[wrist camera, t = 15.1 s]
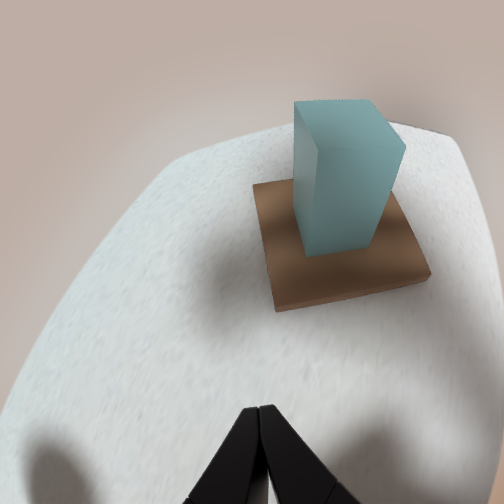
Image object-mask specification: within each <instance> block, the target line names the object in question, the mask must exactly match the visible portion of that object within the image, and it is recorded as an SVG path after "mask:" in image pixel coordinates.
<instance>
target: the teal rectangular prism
mask: <svg viewBox="0 0 504 504" xmlns="http://www.w3.org/2000/svg"><path fill="white" fill-rule="evenodd" d="M405 149H406V145H405V144H404V142H403V141H402V140H401V138H400V137H399V136H398V134H397V133H396V132H395V130H394V129H393V128H392V127H391V125H390V124H389V123H388V122H387V120H386V119H385V118H384V117H383V116H382V115H381V113H380V112H379V111H378V110H377V108H376V107H375V106H374V105H373V104H372V103H371V101H370V100H314V101H298V102H294V175H293V209H294V213H295V217H296V220H297V224H298V228H299V232H300V236H301V239H302V243H303V247H304V251H305V255H306V257H312V256H319V255H325V254H331V253H338V252H344V251H350V250H356V249H363V248H368V247H369V244H370V242H371V240H372V237H373V235H374V233H375V230H376V228H377V225H378V223H379V220H380V218H381V216H382V213H383V210H384V208H385V205H386V203H387V200H388V197H389V195H390V192H391V189H392V187H393V184H394V181H395V178H396V176H397V173H398V170H399V167H400V164H401V161H402V158H403V155H404V152H405Z"/></svg>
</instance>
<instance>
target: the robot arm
mask: <svg viewBox="0 0 504 504" xmlns="http://www.w3.org/2000/svg"><path fill="white" fill-rule="evenodd" d="M268 472H269V474H268ZM269 476H270V480H271V484H272V487H273V491H274V494H275V498H276V501H277V504H362V503H361V502H360V501H359V500H358V499H357V498H356V497H354V496H353V495H352V494H351V493H350V492H349V491H348V490H347V489H346V488H345V487H344V485H343V484H342V483H341V482H338V479H337V478H336V477H335V476H334V475H333V474H332V473H331V472H330V471H329V469H328V468H327V467H326V466H325V465H324V464H323V463H322V462H321V460H320V459H319V458H318V457H317V456H316V455H315V454H314V452H313V451H312V450H311V449H310V448H309V447H308V445H307V444H306V443H305V442H304V441H303V440H302V438H301V437H300V436H299V435H298V434H297V432H296V431H295V430H294V429H293V428H292V426H291V425H290V424H289V423H288V421H287V420H286V419H285V418H284V416H283V415H282V414H281V413H280V411H279V410H278V409H277V408H276V406H275V405H273V404H271V405H264V406H260V407H259V408H258V407H249V408H244V409H243V410H242V411H241V413H240V415H239V416H238V418H237V420H236V421H235V423H234V425H233V426H232V428H231V430H230V431H229V433H228V435H227V436H226V438H225V440H224V441H223V443H222V444H221V446H220V448H219V449H218V451H217V452H216V454H215V456H214V457H213V459H212V460H211V462H210V464H209V465H208V467H207V468H206V470H205V471H204V473H203V474H202V476H201V477H200V479H199V480H198V482H197V483H196V485H195V486H194V488H193V489H192V491H191V492H190V494H189V495H188V497H189V498H186V499H185V501H184V502H183V504H268V488H269Z"/></svg>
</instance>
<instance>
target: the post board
mask: <svg viewBox="0 0 504 504" xmlns="http://www.w3.org/2000/svg"><path fill="white" fill-rule="evenodd" d="M253 192H254V198H255V203H256V208H257V213H258V219H259V224H260V229H261V235H262V240H263V245H264V251H265V256H266V261H267V267H268V272H269V278H270V283H271V289H272V294H273V300H274V305H275V311H276V312H280V311H286V310H292V309H298V308H303V307H308V306H314V305H319V304H324V303H329V302H334V301H339V300H344V299H349V298H354V297H358V296H363V295H367V294H372V293H376V292H381V291H385V290H389V289H393V288H398V287H402V286H406V285H410V284H414V283H418V282H422V281H425V280H427V279H428V278H429V276H430V275H431V271H430V269H429V267H428V264H427V262H426V260H425V257H424V255H423V253H422V251H421V248H420V246H419V244H418V242H417V240H416V238H415V235H414V233H413V231H412V229H411V227H410V225H409V223H408V221H407V219H406V217H405V215H404V213H403V211H402V209H401V207H400V206H399V204H398V202H397V200H396V198H395V196H394V194H393V193H392V191H391V192H390V195H389V197H388V200H387V203H386V205H385V208H384V210H383V213H382V216H381V218H380V220H379V223H378V225H377V228H376V230H375V233H374V235H373V237H372V240H371V242H370V244H369V247H368V248H363V249H356V250H350V251H344V252H338V253H331V254H325V255H319V256H312V257H306V255H305V251H304V247H303V243H302V239H301V236H300V232H299V228H298V224H297V220H296V217H295V213H294V209H293V179H289V180H281V181H274V182H267V183H260V184H254V185H253Z"/></svg>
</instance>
